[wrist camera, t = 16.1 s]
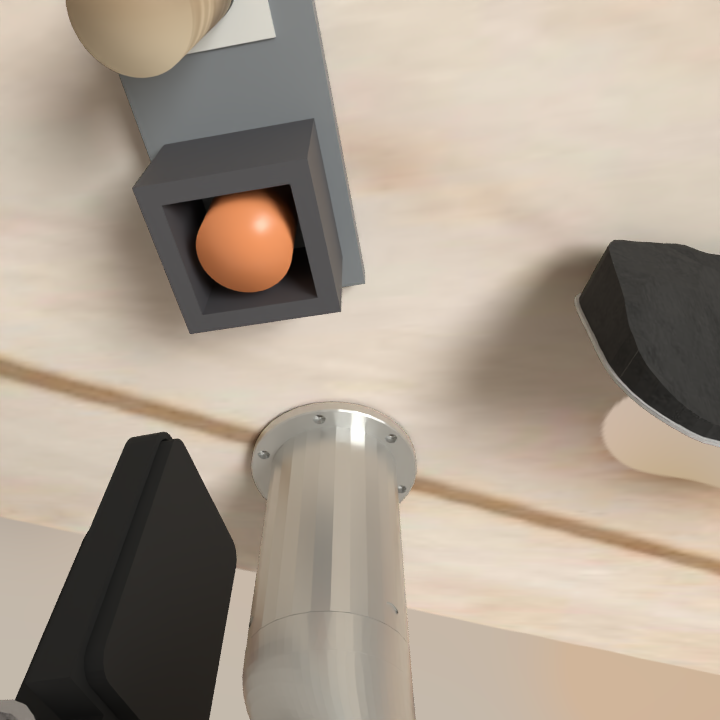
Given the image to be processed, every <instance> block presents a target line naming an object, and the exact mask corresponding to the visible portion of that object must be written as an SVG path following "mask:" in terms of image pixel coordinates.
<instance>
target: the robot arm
mask: <svg viewBox="0 0 720 720" xmlns="http://www.w3.org/2000/svg"><path fill="white" fill-rule="evenodd" d="M251 470H252V477H253V480H254V482H255V485H256V487H257V489H258V490H259V492H260V493H261V494H262V496H263V497H264V498H265V499H266V500H267V504H266V511H265V518H264V525H263V532H262V539H261V546H260V553H259V560H258V567H257V574H256V581H255V589H254V596H253V602H252V609H251V616H250V623H249V630H248V639H247V647H246V651H245V659H244V668H243V677H242V678H243V694H244V699H245V704H246V709H247V712H248V715H249V718H250V720H416V718H415V707H414V697H413V686H412V673H411V660H410V649H409V634H408V621H407V607H406V594H405V580H404V566H403V553H402V539H401V526H400V512H399V503H401V502H402V500H403V499H404V498H405V497H406V496H407V495H408V494H409V492H410V490H411V488H412V486H413V484H414V481H415V477H416V473H417V465H416V456H415V450H414V447H413V444H412V442H411V440H410V438H409V436H408V435H407V434H406V433H405V431H404V430H403V429H402V427H400V426H399V425H398V424H397V423H396V422H394V421H393V420H392V419H391V418H389V417H387V416H386V415H384V414H382V413H380V412H379V411H376V410H373V409H371V408H368V407H365V406H362V405H357V404H352V403H345V402H323V403H313V404H309V405H305V406H301V407H298V408H295V409H293V410H291V411H288V412H286V413H284V414H282V415H281V416H279V417H278V418H276V419H275V420H273V421H272V422H271V423H270V424H269V425H268V426H267V427H266V428H265V429H264V430H263V431H262V433H261V434H260V436H259V437H258V439H257V441H256V443H255V447H254V450H253V455H252V462H251ZM236 561H237V559H236V549H235V545H234V542H233V540H232V538H231V536H230V534H229V532H228V530H227V528H226V526H225V524H224V522H223V520H222V518H221V516H220V514H219V512H218V510H217V508H216V506H215V504H214V502H213V500H212V498H211V497H210V495H209V493H208V491H207V489H206V487H205V485H204V483H203V481H202V479H201V477H200V475H199V473H198V471H197V469H196V467H195V465H194V463H193V461H192V459H191V457H190V455H189V453H188V451H187V449H186V447H185V445H184V444H183V442H182V441H181V440H180V439H172V437H171V436H170V435H169V434H168V433H167V432H160V433H154V434H149V435H143V436H137V437H132V438H130V439H129V440H128V441H127V443H126V444H125V447H124V449H123V451H122V454H121V456H120V458H119V461H118V463H117V466H116V468H115V470H114V473H113V475H112V477H111V480H110V482H109V484H108V487H107V489H106V492H105V494H104V496H103V499H102V501H101V503H100V506H99V508H98V510H97V513H96V515H95V518H94V520H93V522H92V525H91V527H90V529H89V531H88V532H87V534H86V536H85V537H84V539H83V541H82V544H81V546H80V549H79V551H78V553H77V556H76V558H75V560H74V563H73V565H72V567H71V570H70V572H69V574H68V577H67V579H66V582H65V584H64V586H63V588H62V591H61V593H60V595H59V598H58V601H57V602H56V605H55V608H54V610H53V612H52V614H51V617H50V619H49V621H48V624H47V626H46V628H45V631H44V633H43V635H42V638H41V640H40V642H39V645H38V647H37V650H36V652H35V654H34V657H33V659H32V662H31V664H30V666H29V668H28V671H27V673H26V676H25V678H24V680H23V682H22V685H21V687H20V689H19V692H18V694H17V697H16V699H15V700H0V720H209V717H210V711H211V706H212V700H213V694H214V688H215V683H216V677H217V671H218V666H219V660H220V654H221V649H222V643H223V637H224V631H225V626H226V620H227V614H228V608H229V603H230V597H231V591H232V585H233V580H234V574H235V569H236Z"/></svg>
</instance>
